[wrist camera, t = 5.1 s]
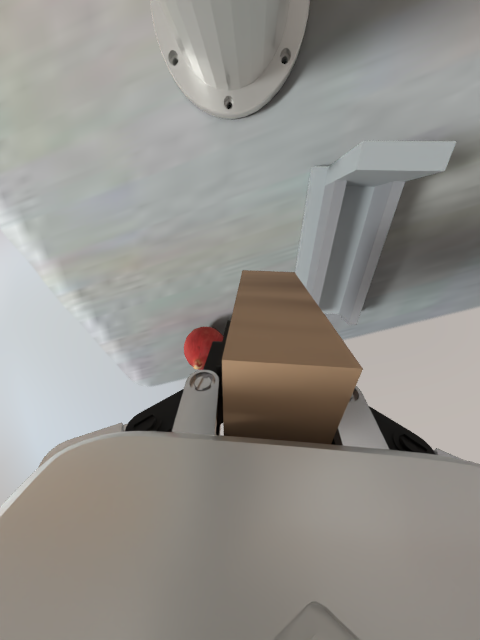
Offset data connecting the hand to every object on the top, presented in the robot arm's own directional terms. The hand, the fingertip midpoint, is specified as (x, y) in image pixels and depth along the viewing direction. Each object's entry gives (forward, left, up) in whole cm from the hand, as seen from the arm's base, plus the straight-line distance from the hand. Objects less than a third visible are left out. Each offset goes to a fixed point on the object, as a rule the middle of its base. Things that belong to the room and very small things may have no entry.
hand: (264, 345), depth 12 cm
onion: (+9, -7, -16) cm, 20 cm away
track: (-4, +9, -16) cm, 19 cm away
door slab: (0, 0, -2) cm, 2 cm away
